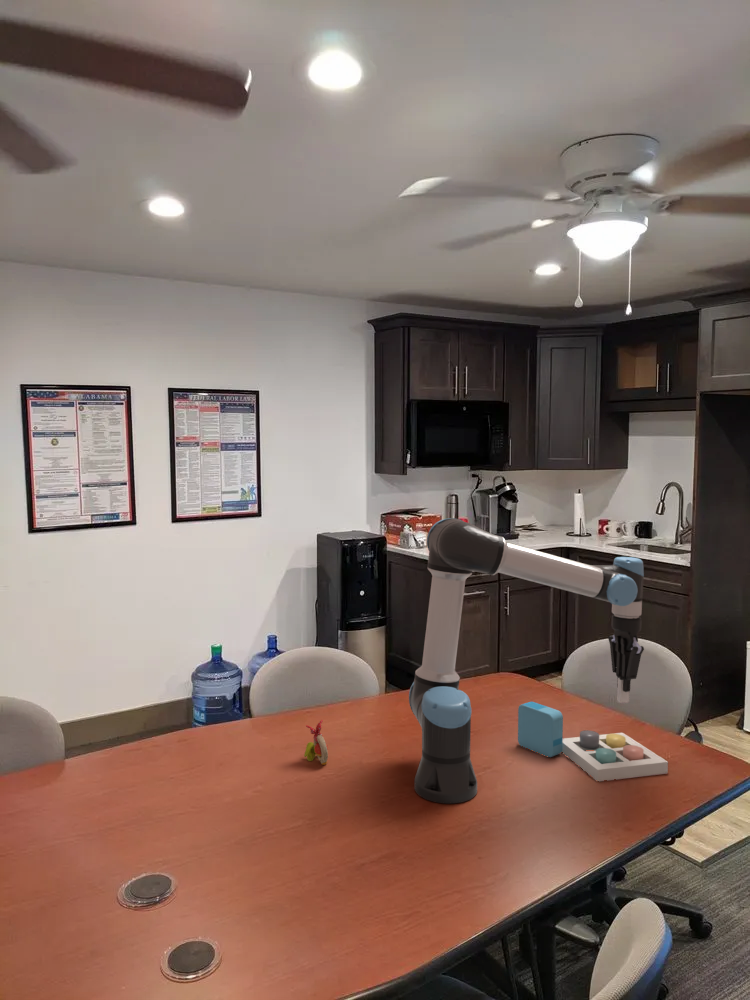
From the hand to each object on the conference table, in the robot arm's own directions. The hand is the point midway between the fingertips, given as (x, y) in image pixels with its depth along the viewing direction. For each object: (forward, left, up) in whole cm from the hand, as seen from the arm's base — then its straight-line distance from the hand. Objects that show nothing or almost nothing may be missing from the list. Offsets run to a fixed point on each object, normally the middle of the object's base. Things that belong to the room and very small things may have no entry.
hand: (623, 701), depth 191 cm
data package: (-20, +9, -15) cm, 26 cm away
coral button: (-1, -6, -13) cm, 15 cm away
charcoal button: (-9, +2, -12) cm, 15 cm away
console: (-5, -2, -15) cm, 16 cm away
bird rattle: (-80, +16, -15) cm, 83 cm away
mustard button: (-1, +2, -13) cm, 14 cm away
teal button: (-9, -6, -13) cm, 17 cm away
